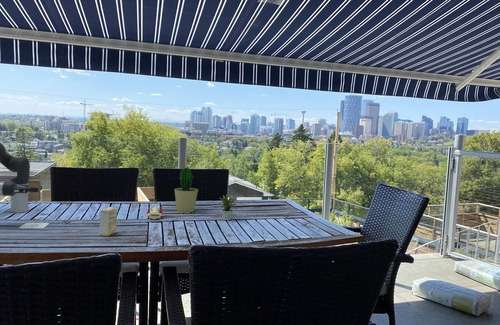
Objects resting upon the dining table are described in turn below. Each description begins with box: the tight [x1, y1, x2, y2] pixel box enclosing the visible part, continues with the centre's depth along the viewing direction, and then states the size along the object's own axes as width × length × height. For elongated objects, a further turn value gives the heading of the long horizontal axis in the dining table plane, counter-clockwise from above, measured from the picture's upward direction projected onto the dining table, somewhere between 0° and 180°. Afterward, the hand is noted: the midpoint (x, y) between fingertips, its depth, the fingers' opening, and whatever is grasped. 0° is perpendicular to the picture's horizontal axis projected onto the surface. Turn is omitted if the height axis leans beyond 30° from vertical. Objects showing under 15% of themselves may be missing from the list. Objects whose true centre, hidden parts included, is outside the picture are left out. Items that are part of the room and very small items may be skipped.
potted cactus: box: [174, 166, 199, 213], centre depth 257 cm, size 15×15×30 cm
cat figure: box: [146, 200, 164, 220], centre depth 241 cm, size 10×9×25 cm
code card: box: [18, 222, 50, 229], centre depth 205 cm, size 11×12×1 cm
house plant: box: [217, 193, 239, 221], centre depth 236 cm, size 14×14×16 cm
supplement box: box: [99, 206, 118, 237], centre depth 195 cm, size 8×5×13 cm, turn 168°
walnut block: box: [28, 179, 42, 203], centre depth 204 cm, size 5×5×11 cm
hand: (39, 189), depth 204 cm, fingers closed on walnut block, 4 cm apart
